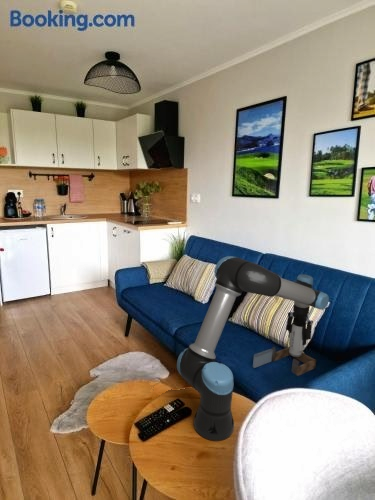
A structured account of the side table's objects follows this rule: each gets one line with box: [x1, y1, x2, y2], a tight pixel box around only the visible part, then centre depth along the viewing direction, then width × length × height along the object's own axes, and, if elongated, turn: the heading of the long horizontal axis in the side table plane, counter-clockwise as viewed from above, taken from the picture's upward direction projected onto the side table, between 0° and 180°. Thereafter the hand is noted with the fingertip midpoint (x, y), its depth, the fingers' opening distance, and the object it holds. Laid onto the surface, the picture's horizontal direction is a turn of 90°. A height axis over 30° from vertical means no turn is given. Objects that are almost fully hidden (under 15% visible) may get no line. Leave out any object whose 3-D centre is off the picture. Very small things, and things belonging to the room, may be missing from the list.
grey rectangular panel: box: [252, 348, 273, 369], centre depth 165 cm, size 12×1×7 cm, turn 124°
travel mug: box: [289, 317, 307, 358], centre depth 165 cm, size 6×7×20 cm
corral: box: [270, 346, 317, 377], centre depth 167 cm, size 16×16×8 cm
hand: (296, 347), depth 166 cm, fingers closed on travel mug, 6 cm apart
